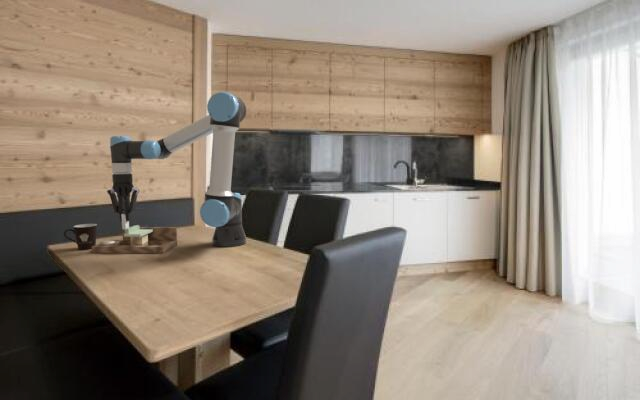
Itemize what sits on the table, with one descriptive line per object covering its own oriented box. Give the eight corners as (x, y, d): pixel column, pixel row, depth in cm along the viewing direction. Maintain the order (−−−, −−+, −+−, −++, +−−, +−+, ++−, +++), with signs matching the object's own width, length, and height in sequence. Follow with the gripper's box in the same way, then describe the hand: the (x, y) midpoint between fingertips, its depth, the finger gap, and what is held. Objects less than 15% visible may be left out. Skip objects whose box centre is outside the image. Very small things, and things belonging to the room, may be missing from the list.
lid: (153, 231, 171) (152, 224, 171) (140, 236, 160) (140, 229, 160) (137, 231, 171) (137, 224, 171) (124, 236, 160) (123, 229, 160)
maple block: (148, 247, 169) (147, 234, 168) (142, 250, 164) (141, 236, 163) (137, 247, 169) (136, 234, 168) (131, 250, 164) (130, 236, 163)
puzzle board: (177, 245, 173) (176, 227, 172) (163, 253, 159) (162, 233, 158) (111, 244, 174) (110, 226, 173) (92, 252, 160) (90, 233, 159)
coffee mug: (102, 246, 172) (101, 223, 170) (89, 251, 163) (87, 227, 162) (78, 245, 173) (76, 223, 172) (63, 250, 164) (61, 227, 163)
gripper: (141, 172, 166) (145, 227, 169) (112, 173, 167) (115, 227, 170) (132, 173, 159) (136, 230, 162) (101, 173, 160) (105, 230, 162)
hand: (125, 228), depth 166 cm, fingers closed
